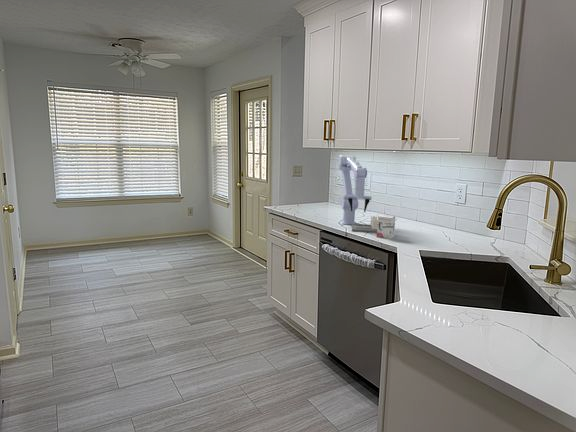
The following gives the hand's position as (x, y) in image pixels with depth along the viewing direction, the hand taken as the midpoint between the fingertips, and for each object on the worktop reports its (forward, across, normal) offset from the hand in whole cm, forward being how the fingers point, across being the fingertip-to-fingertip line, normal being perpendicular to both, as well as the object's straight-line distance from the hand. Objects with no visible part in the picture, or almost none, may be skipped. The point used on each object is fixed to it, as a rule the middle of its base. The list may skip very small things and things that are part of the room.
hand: (358, 211), depth 240 cm
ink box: (+11, +15, -19) cm, 26 cm away
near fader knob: (+9, +10, -4) cm, 14 cm away
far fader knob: (+9, +10, +5) cm, 14 cm away
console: (+10, +6, 0) cm, 12 cm away
